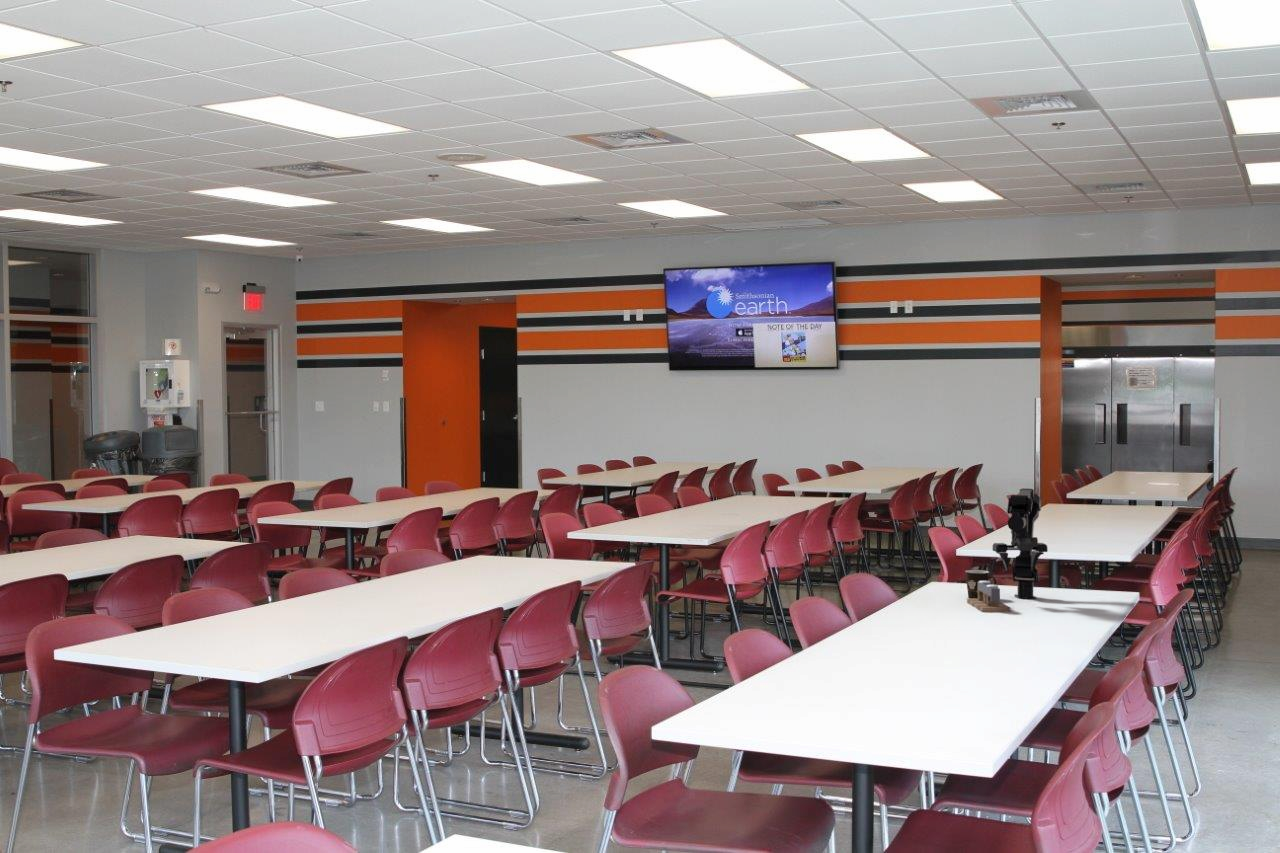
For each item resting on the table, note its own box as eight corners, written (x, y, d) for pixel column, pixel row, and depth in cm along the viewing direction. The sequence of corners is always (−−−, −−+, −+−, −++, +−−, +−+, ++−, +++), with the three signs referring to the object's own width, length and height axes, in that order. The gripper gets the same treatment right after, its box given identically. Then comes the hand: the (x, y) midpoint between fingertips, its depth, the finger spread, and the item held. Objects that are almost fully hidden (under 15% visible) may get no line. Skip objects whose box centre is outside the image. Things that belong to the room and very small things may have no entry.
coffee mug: (960, 596, 463) (960, 570, 463) (980, 595, 466) (980, 569, 465) (978, 601, 452) (978, 574, 452) (998, 600, 455) (998, 573, 454)
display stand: (967, 602, 450) (967, 589, 450) (994, 602, 450) (994, 589, 450) (982, 611, 430) (982, 597, 430) (1010, 611, 430) (1010, 597, 430)
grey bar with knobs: (976, 593, 449) (976, 579, 449) (987, 593, 449) (987, 579, 449) (989, 601, 431) (989, 587, 431) (1001, 601, 431) (1001, 587, 431)
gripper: (1000, 531, 439) (1000, 574, 440) (1052, 530, 439) (1052, 573, 439) (992, 527, 450) (992, 569, 451) (1042, 527, 450) (1042, 569, 451)
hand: (1019, 570), depth 448 cm, fingers open, 9 cm apart
